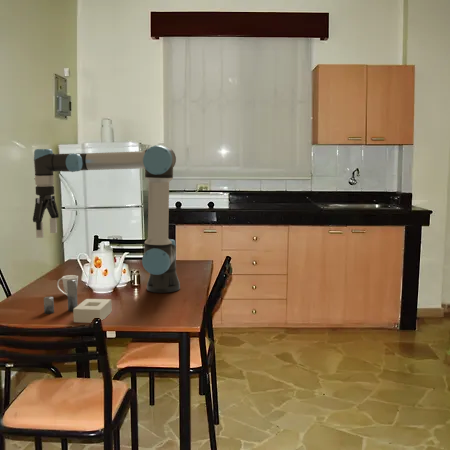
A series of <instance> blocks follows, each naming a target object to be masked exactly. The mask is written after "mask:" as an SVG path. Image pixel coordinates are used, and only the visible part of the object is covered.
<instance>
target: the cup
mask: <svg viewBox="0 0 450 450" xmlns="http://www.w3.org/2000/svg"><path fill="white" fill-rule="evenodd" d="M72 279H74V280H77V284H78V282H79V281H78V280H79V275H77V274H76V275H75V274H70V275H69V274H67V275H63V276H62V277H61V278H59V279H58V280H57V285H56V286H57V289H58V290H59V291H60V292H61V294H64V295H65V296H67V297H68V293H67V280H72ZM60 281H62V285H63V290H64V291H63V290H62V289H61V288H60V285H59V284H60Z"/></svg>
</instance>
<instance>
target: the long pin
mask: <svg viewBox="0 0 450 450" xmlns="http://www.w3.org/2000/svg"><path fill="white" fill-rule="evenodd" d="M67 293H68V296H67V311H68V312H73V309H74V308H75V307H77V306H78V305H79V304H78V283H77V280H74V279H72V280H67Z"/></svg>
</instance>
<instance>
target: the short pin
mask: <svg viewBox="0 0 450 450" xmlns="http://www.w3.org/2000/svg"><path fill="white" fill-rule="evenodd" d="M43 312H44V314H46V315H51V314H54V313H55V302H54V296H51V295H50V296H44V297H43Z"/></svg>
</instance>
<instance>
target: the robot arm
mask: <svg viewBox="0 0 450 450" xmlns="http://www.w3.org/2000/svg"><path fill="white" fill-rule="evenodd" d="M176 162H177V157H176V154H175V151H173V149H172V148H171V147H168V146H167V145H159V144H158V145H153V146H150V147H149V148H145V149H143V150H142V151H140V150H139V151H138V150H137V151H114V152H113V151H111V152H108V151H107V152H87V153H85V152H84V153H83V152H81V153H79V152H78V153H53V149H51V148H36V149H34V151H33V163H34V165H33V166H34V183H35V185H36V186H35V195H37V196H38V197H35V204H34V210H33V216H32V221H33V223H35V232H36V238H37V239H38V238H40V239H43V238H44V237H45V236H44V222H43V218H44V214H45V212H46V211H45V210H47V212H48V215H49V229H50V230H49V231H50V234H51V233H52V234H57V233H58V224H57V219H58V218H59V210H58V207H57V203H56V196H55V186H54V185H55V177H54V176H55V175H54V172H55V173H56V172H62V173H63V172H64V173H65V172H66V173H67V172H68V173H69V172H71V173H74V172H81V171H100V170H101V171H102V170H105V171H106V170H134V169H137V170H139V169H140V170H141V169H143V170H144V179H145V180H146V181H148V203H147V204H148V211H147V214H148V217H147V224H148V225H147V238H146V240H145V241H144V246H143V247H144V248H143V250H144V251H143V252H144V253H143V255H142V258H141V262H142V266H143V269H144V270H145V271H146V272H147V273H148V274H149V276H148V280H147V283H146V290H147V291H148V292H150V293H154V294H155V293H157V294H162V293H163V294H164V293H166V294H167V293H174V292H178V291H180V289H181V283H180V280H179V278H178V274H177V263H176V262H177V259H176V258H177V253H176V251H177V250H176V249H177V244H176V240H175V239H171V238H169V223H170V222H169V217H170V215H169V211H170V207H169V206H170V200H169V199H170V183H171V181H172V180H173V179H174V167H175V165H176Z"/></svg>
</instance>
